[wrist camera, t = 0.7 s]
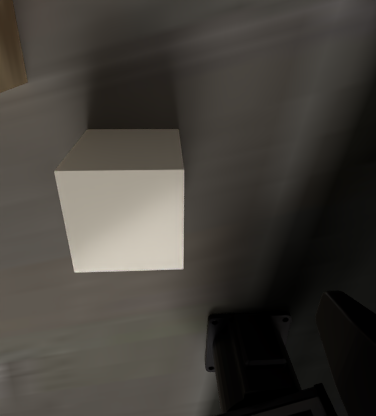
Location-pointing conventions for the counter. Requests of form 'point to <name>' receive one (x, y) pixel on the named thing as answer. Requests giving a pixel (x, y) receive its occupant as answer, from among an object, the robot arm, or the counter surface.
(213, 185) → the counter surface
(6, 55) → the oak block
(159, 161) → the ceramic cube
